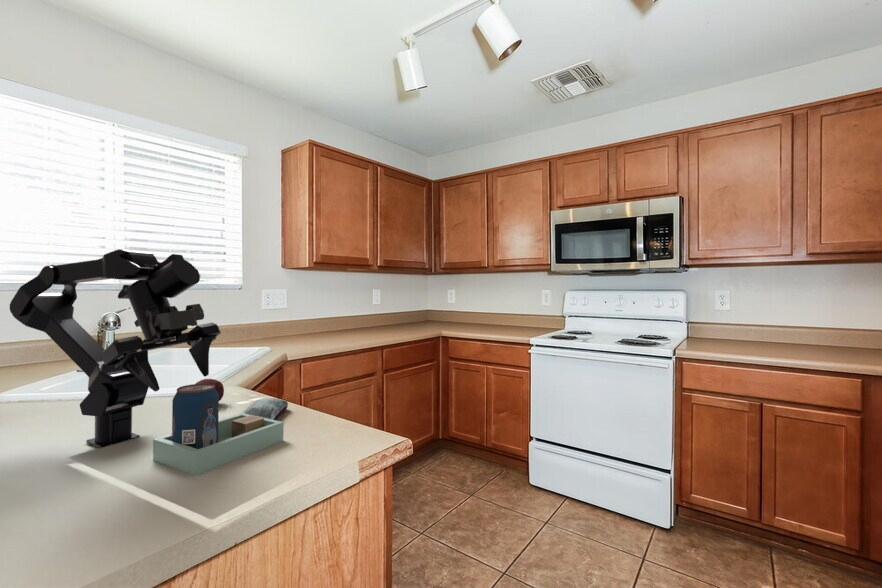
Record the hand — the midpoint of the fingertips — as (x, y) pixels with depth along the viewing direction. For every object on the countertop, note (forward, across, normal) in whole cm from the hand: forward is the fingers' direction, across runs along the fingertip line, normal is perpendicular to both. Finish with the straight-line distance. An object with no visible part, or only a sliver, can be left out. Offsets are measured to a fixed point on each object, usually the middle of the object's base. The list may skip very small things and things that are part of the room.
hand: (183, 382), depth 75 cm
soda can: (+14, -4, -1) cm, 14 cm away
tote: (+15, 0, -2) cm, 16 cm away
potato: (+2, +19, +28) cm, 34 cm away
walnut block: (+15, +6, -2) cm, 16 cm away
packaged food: (+13, +17, +7) cm, 22 cm away
